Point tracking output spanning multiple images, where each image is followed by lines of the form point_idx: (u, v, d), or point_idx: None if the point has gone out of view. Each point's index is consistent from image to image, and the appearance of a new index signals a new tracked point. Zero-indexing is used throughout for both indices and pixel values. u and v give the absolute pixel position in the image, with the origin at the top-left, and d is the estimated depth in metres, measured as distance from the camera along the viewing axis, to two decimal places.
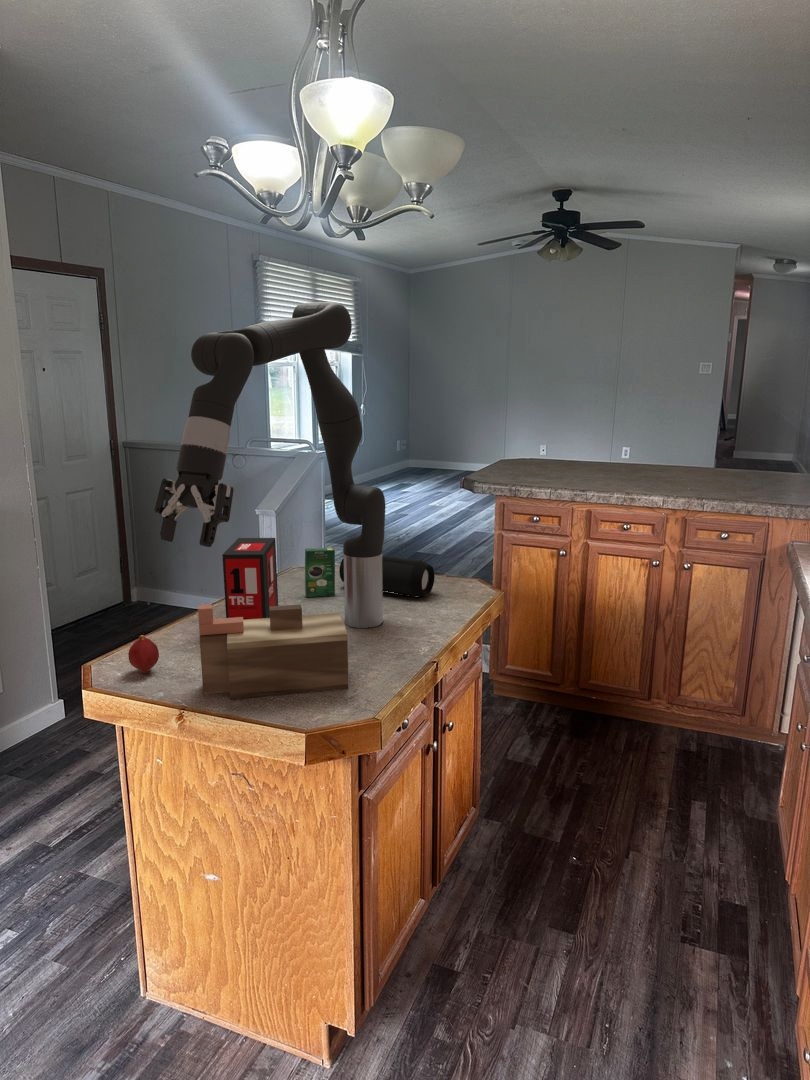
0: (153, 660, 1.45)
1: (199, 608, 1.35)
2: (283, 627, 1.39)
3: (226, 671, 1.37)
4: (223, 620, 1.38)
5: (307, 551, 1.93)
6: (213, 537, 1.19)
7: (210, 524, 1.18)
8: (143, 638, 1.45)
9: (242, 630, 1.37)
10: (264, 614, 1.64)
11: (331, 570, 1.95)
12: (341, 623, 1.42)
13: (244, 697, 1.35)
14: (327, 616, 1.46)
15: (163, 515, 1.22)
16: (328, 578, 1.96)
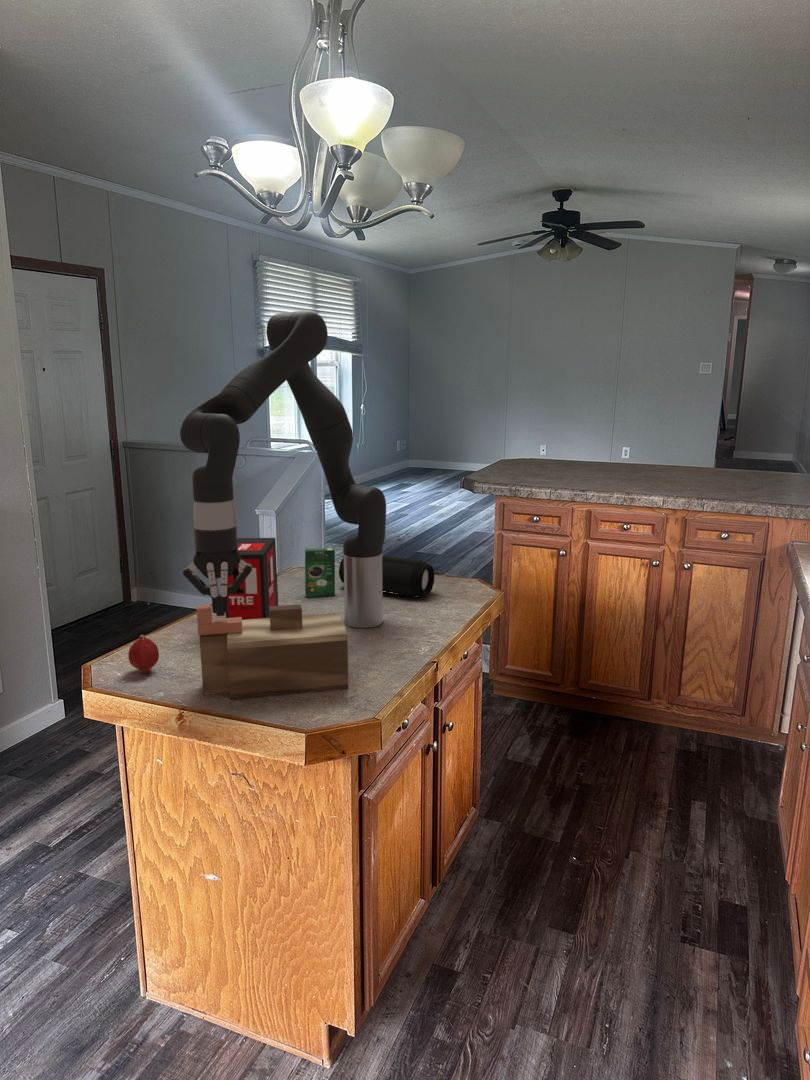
0: (153, 660, 1.45)
1: (198, 608, 1.35)
2: (283, 627, 1.39)
3: (226, 671, 1.37)
4: (222, 620, 1.38)
5: (307, 551, 1.93)
6: None
7: (226, 597, 1.36)
8: (143, 638, 1.45)
9: (241, 630, 1.37)
10: (264, 614, 1.64)
11: (331, 571, 1.95)
12: (341, 623, 1.42)
13: (244, 697, 1.35)
14: (327, 616, 1.46)
15: (215, 596, 1.35)
16: (328, 578, 1.96)
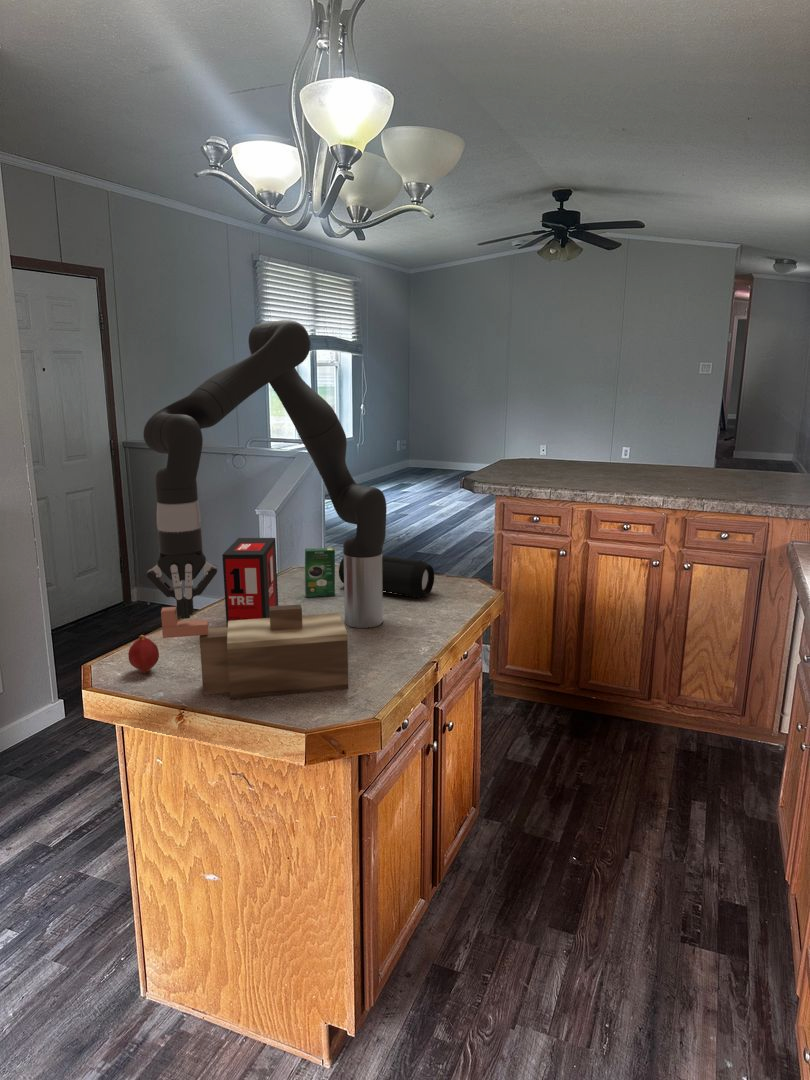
0: (153, 660, 1.45)
1: (162, 610, 1.34)
2: (283, 627, 1.39)
3: (226, 671, 1.37)
4: (187, 623, 1.36)
5: (307, 551, 1.93)
6: (193, 607, 1.36)
7: (191, 599, 1.34)
8: (143, 638, 1.45)
9: (206, 633, 1.36)
10: (264, 614, 1.64)
11: (331, 571, 1.95)
12: (341, 623, 1.42)
13: (244, 697, 1.35)
14: (327, 616, 1.46)
15: (179, 598, 1.33)
16: (328, 578, 1.96)
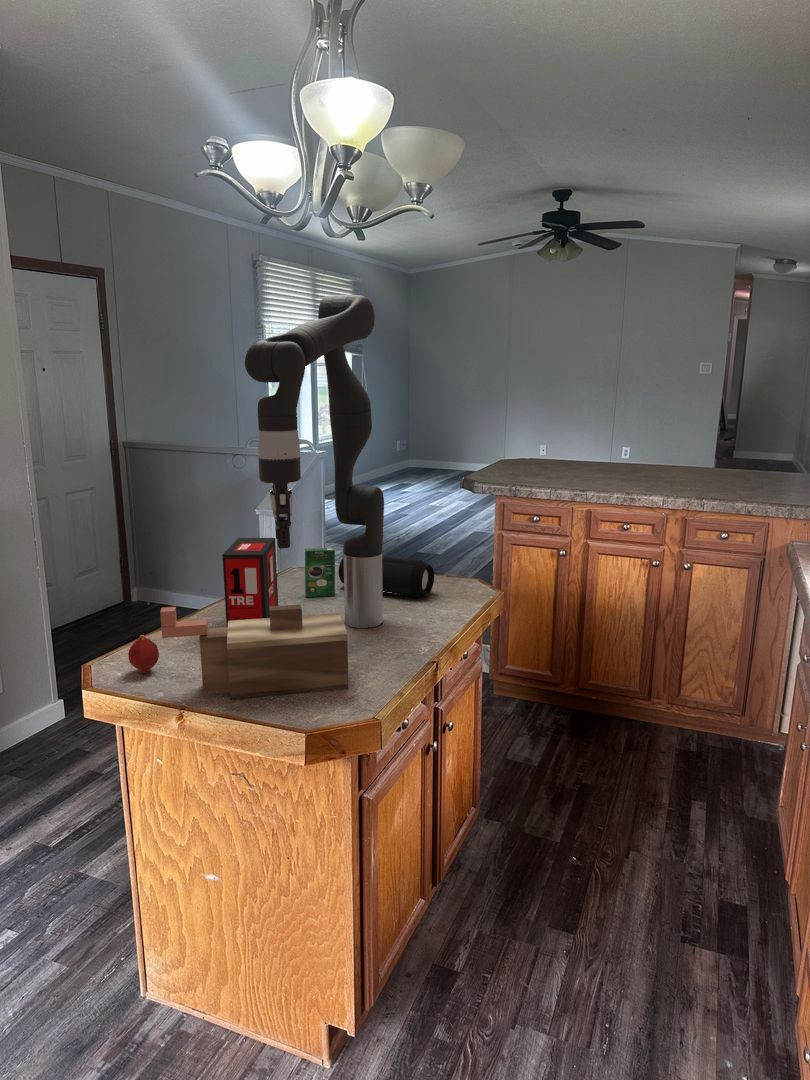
0: (153, 660, 1.45)
1: (161, 611, 1.34)
2: (283, 627, 1.39)
3: (226, 671, 1.37)
4: (186, 623, 1.36)
5: (307, 551, 1.93)
6: (286, 540, 1.32)
7: (279, 529, 1.31)
8: (143, 638, 1.45)
9: (205, 633, 1.36)
10: (264, 614, 1.64)
11: (331, 570, 1.95)
12: (341, 623, 1.42)
13: (244, 697, 1.35)
14: (327, 616, 1.46)
15: (274, 517, 1.40)
16: (328, 578, 1.96)
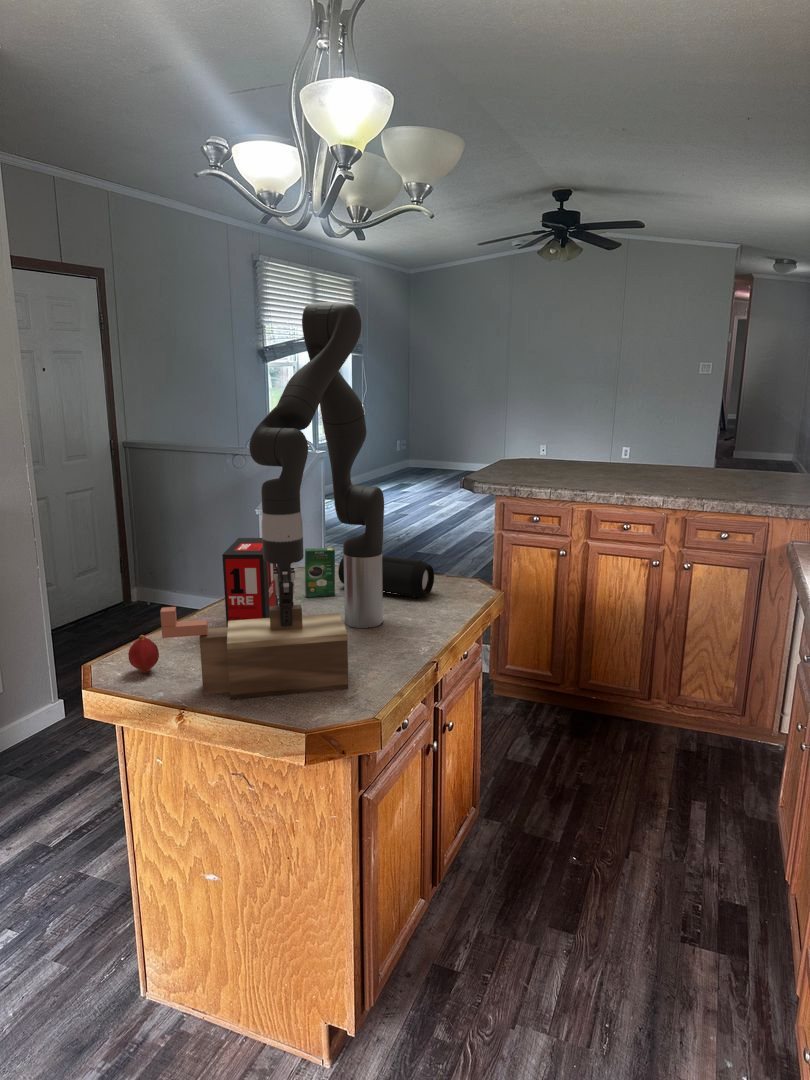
0: (153, 660, 1.45)
1: (161, 611, 1.34)
2: (283, 627, 1.39)
3: (226, 671, 1.37)
4: (186, 623, 1.36)
5: (307, 551, 1.93)
6: (288, 619, 1.37)
7: (282, 609, 1.37)
8: (143, 638, 1.45)
9: (205, 633, 1.36)
10: (264, 614, 1.64)
11: (331, 570, 1.95)
12: (341, 623, 1.42)
13: (244, 697, 1.35)
14: (327, 616, 1.46)
15: (278, 600, 1.41)
16: (328, 578, 1.96)
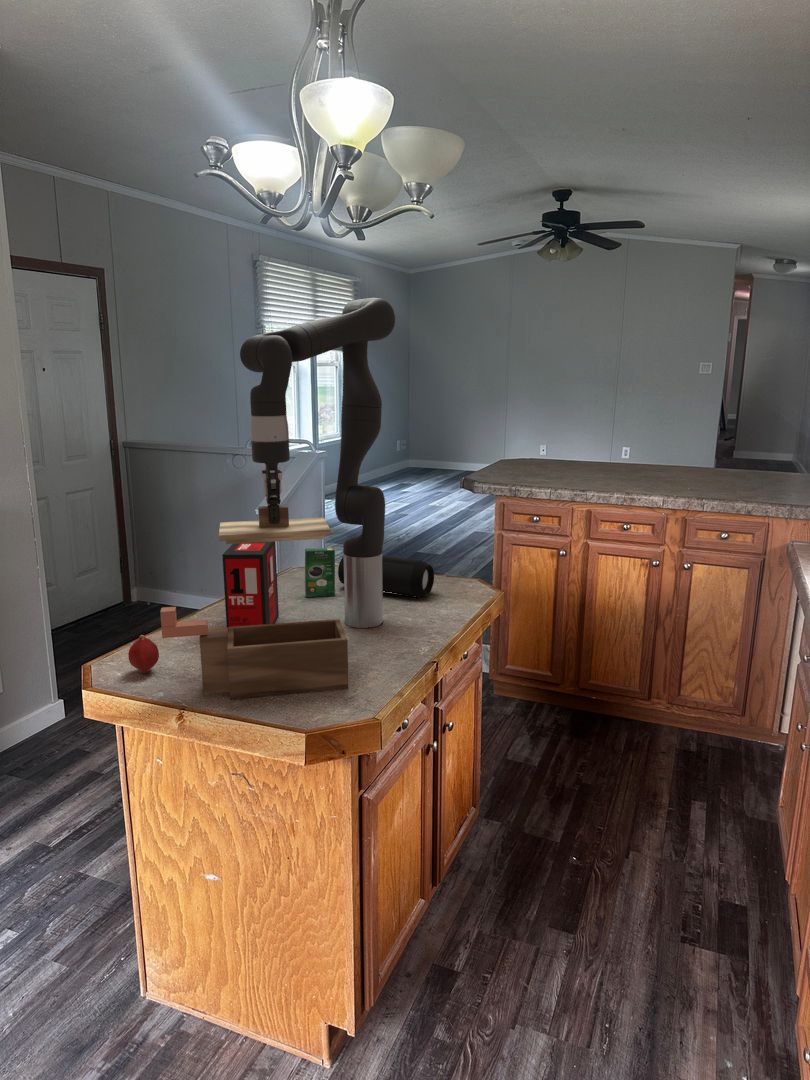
0: (153, 660, 1.45)
1: (161, 611, 1.34)
2: (271, 525, 1.50)
3: (226, 671, 1.37)
4: (186, 623, 1.36)
5: (307, 551, 1.93)
6: (276, 516, 1.49)
7: (270, 507, 1.48)
8: (143, 638, 1.45)
9: (205, 633, 1.36)
10: (264, 614, 1.64)
11: (331, 571, 1.95)
12: (325, 523, 1.54)
13: (244, 697, 1.35)
14: (312, 519, 1.58)
15: None
16: (328, 578, 1.96)
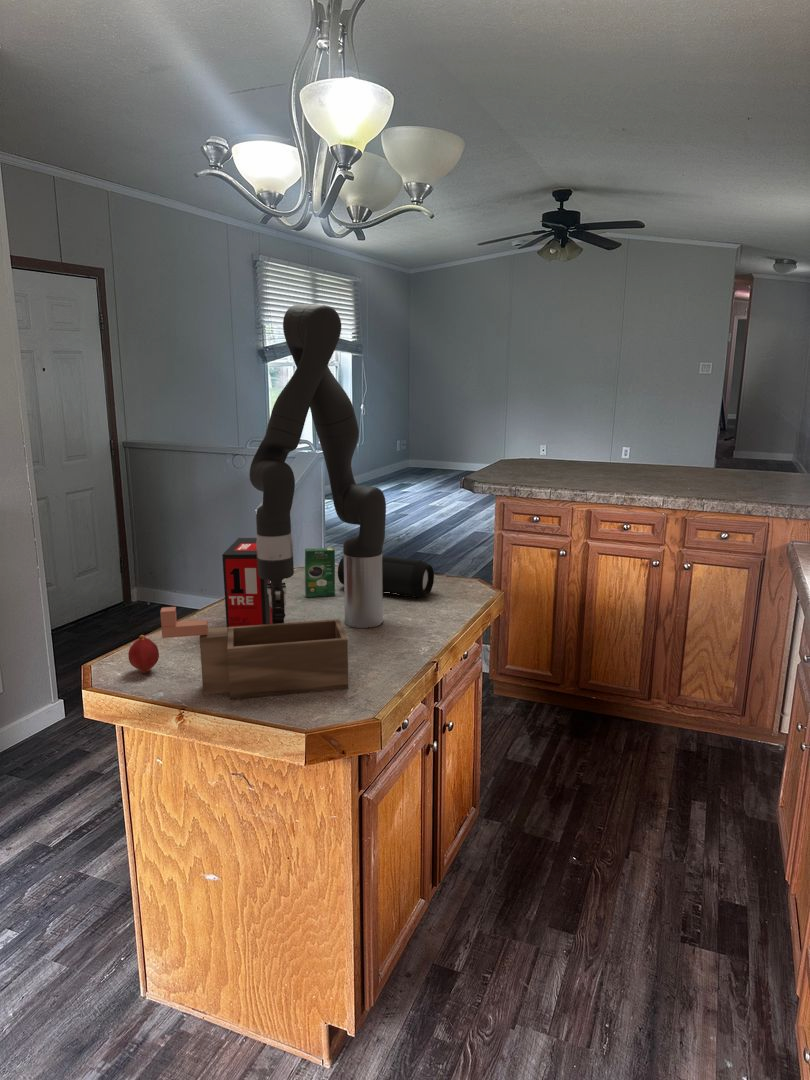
0: (153, 660, 1.45)
1: (161, 611, 1.34)
2: None
3: (226, 671, 1.37)
4: (186, 623, 1.36)
5: (307, 551, 1.93)
6: None
7: (275, 620, 1.51)
8: (143, 638, 1.45)
9: (205, 633, 1.36)
10: (264, 614, 1.64)
11: (331, 570, 1.95)
12: None
13: (244, 697, 1.35)
14: None
15: None
16: (328, 578, 1.96)
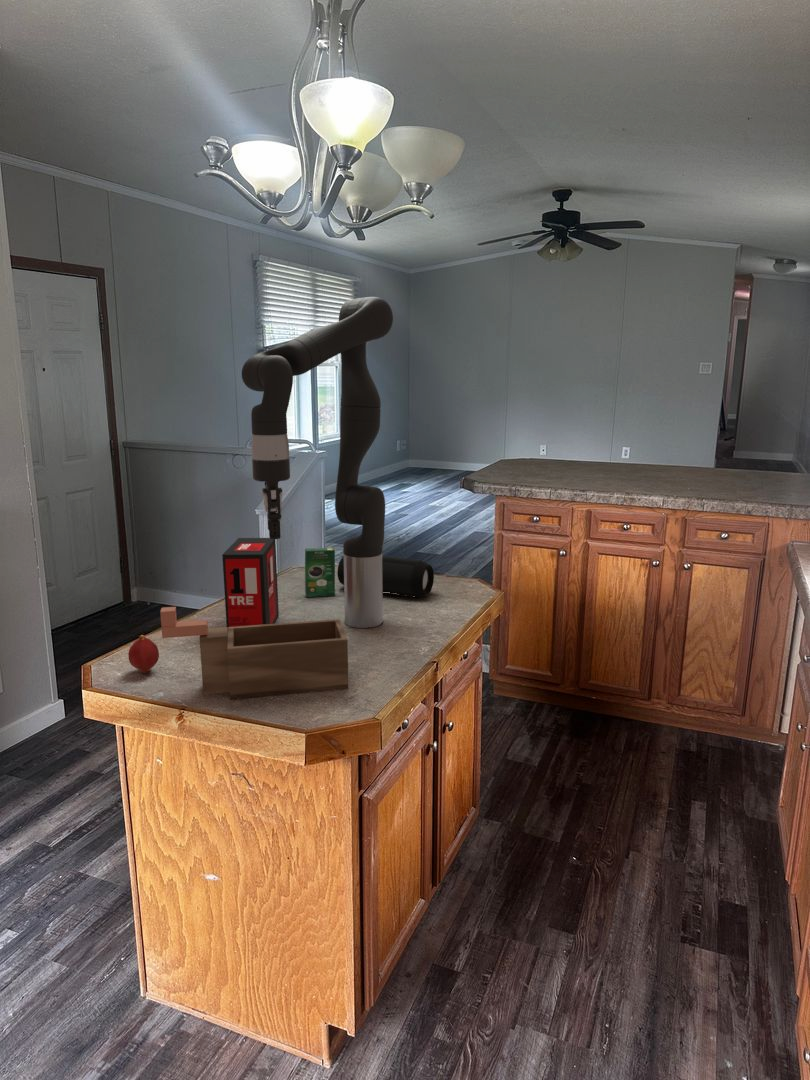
0: (153, 660, 1.45)
1: (161, 611, 1.34)
2: None
3: (226, 671, 1.37)
4: (186, 623, 1.36)
5: (307, 551, 1.93)
6: (276, 531, 1.47)
7: (270, 522, 1.46)
8: (143, 638, 1.45)
9: (205, 633, 1.36)
10: (264, 614, 1.64)
11: (331, 571, 1.95)
12: None
13: (244, 697, 1.35)
14: None
15: None
16: (328, 578, 1.96)
